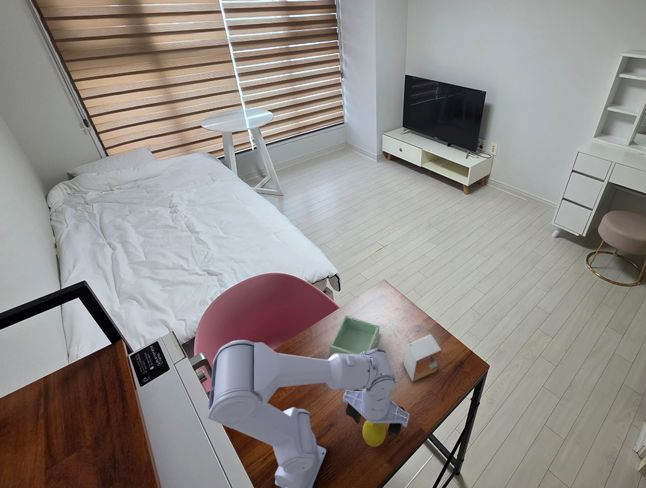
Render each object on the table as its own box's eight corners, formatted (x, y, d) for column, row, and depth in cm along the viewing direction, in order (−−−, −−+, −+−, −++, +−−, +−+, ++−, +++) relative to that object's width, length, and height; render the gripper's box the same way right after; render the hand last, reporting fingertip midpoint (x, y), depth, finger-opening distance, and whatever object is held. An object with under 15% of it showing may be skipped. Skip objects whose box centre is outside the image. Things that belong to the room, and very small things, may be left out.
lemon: (389, 437, 79) (391, 422, 75) (374, 458, 76) (375, 443, 71) (373, 420, 82) (373, 405, 78) (357, 439, 79) (357, 424, 74)
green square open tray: (366, 368, 93) (366, 359, 90) (330, 356, 96) (329, 346, 93) (378, 335, 102) (379, 326, 99) (345, 324, 105) (345, 315, 102)
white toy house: (412, 382, 91) (416, 361, 85) (403, 364, 95) (405, 343, 89) (437, 371, 93) (442, 350, 87) (426, 354, 98) (431, 333, 92)
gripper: (415, 389, 69) (409, 418, 76) (351, 366, 72) (352, 396, 80) (406, 424, 63) (401, 452, 71) (337, 397, 67) (340, 426, 75)
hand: (374, 424), depth 75 cm, fingers open, 7 cm apart
